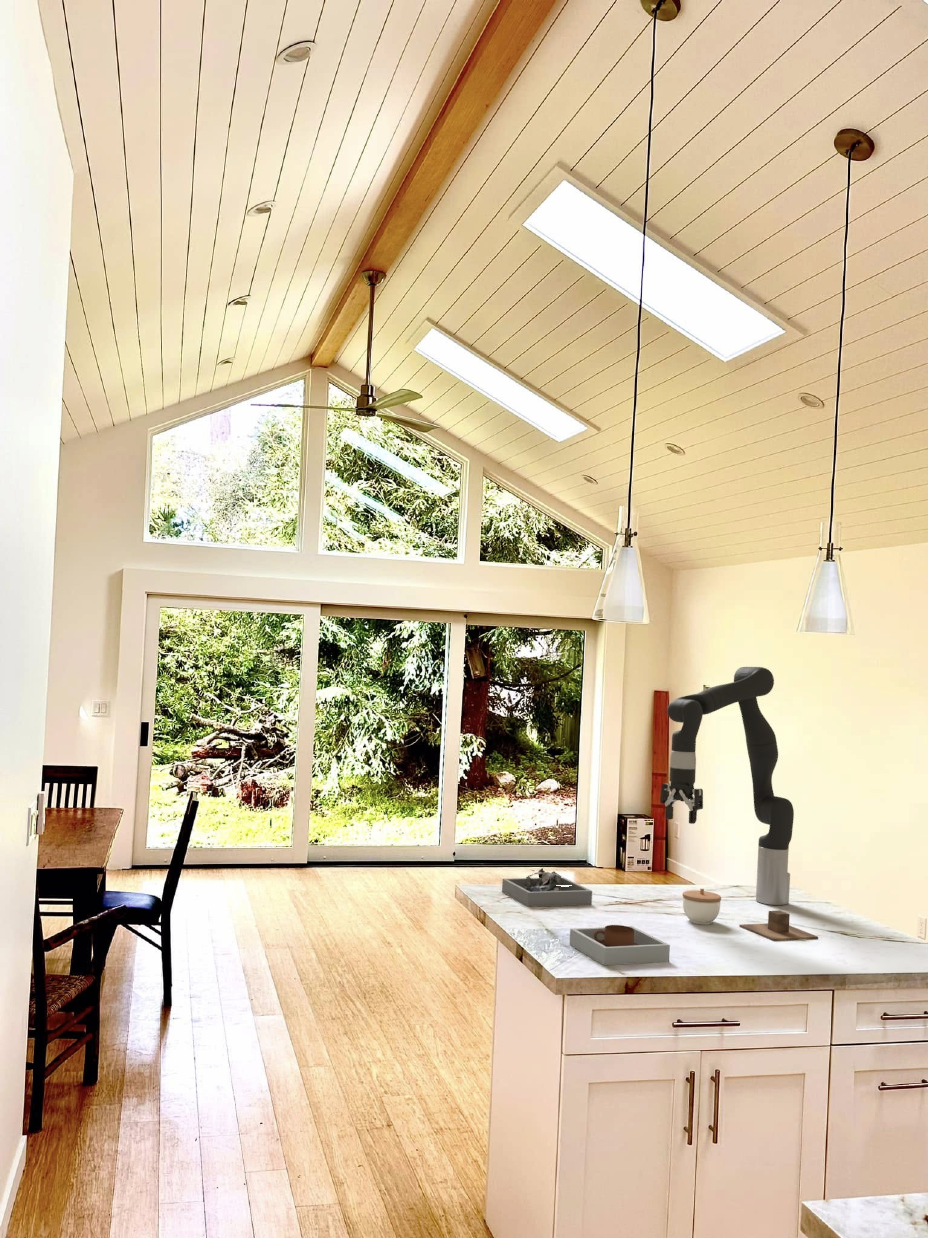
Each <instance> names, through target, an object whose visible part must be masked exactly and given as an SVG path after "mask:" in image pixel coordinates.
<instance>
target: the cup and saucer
mask: <svg viewBox="0 0 928 1238" xmlns="http://www.w3.org/2000/svg"><path fill="white" fill-rule="evenodd" d="M627 926H628V925H621V924H609V925H606V926H604V927H605V931H603V930H598V931H596V932H595V934H594V939H595V940H596V941H597V942H599V943H600V944H602V945H604V946H606V947H615V946H636V945H639V944H636V943H634V931H635V930H634V929H633V928H631V927H627ZM598 933H602V934H604V935H605V936H604V939H603V940H598V939H597V934H598Z"/></svg>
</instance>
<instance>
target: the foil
mask: <svg viewBox="0 0 928 1238" xmlns="http://www.w3.org/2000/svg"><path fill="white" fill-rule="evenodd" d="M531 871H532V872H533V873H532V874H529V875H527V876H526V877H525V878H526V880H527V881H526V883H525V889H526V890H528V891H530V892H542V891H560V889H561V886H556V885H554V886H553V887H552V884H554V883H557V884H559V882H560V878H561V877H563V876H562V875H560V874H559V873H557V872H556V871H552V872H549V871H545V870H544V868H543V867H542V868H540V869H539V870H538V871H537V872H535V870H533V869H531ZM534 875H538V878H539V879H540V878H541V880H540V882H539V883H538V884H537V883H536V882H535V881H534V880H532V879H531V878H532V876H534ZM542 889H544V890H542Z"/></svg>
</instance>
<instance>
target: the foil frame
mask: <svg viewBox="0 0 928 1238" xmlns="http://www.w3.org/2000/svg"><path fill="white" fill-rule="evenodd" d="M530 878H531V879H532V880H534V881H535V882H536V883H537V884H538V883H539V882H540V880H541V878H540V879H539V877H530ZM526 881H527V880H526V877H520V878H502V884H501V887H502V888H501V892H502V893H503V894H505V895H506V896H509V897H510V898H513V899H514V901H515V900H516V901H517V902H519V903H521V904H522V905H525V906H526V907H552V906H553V907H554V906H555V907H556V906H557V907H558V906H581V905H583V906H585V905H586V906H587V905H589V906H590V905H592V904H593V890H591V889H589V888H587V887H585V886H582V885H581V884H578V883H576V882H574V881H572V880H571V879H568V878H566V877H564V876H562V877H561V878H560V882H559V884H557V883H554V884H552V887H553V886H554V885H572V886H569V887H561V889H560V891H542V892H530V891H528V890H526V889H525V883H526ZM542 890H544V889H542Z"/></svg>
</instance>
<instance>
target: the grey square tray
mask: <svg viewBox="0 0 928 1238" xmlns="http://www.w3.org/2000/svg"><path fill="white" fill-rule="evenodd" d="M626 926H627V927H631V928H633V929H634V930H635V931H634V943H636V944H639V945H636V946H615V947H606V946H604V945H602V944H600V943H599V942H597V941H596V940H595V939H594V934H595V932H596V931H598V930H603V931H605V926H604V927H603V926H601V927H600V926H599V927H598V926H597V927H579V928H577V927H575V928H570V931H569V945H570V946H571V947H572V948H574V949H576V950H578V951H580V952H581V953H583V954H585V955H586V956H588V957H590V958H591V959H592V960H594V961H597V962H598V963H599V964H601V965H603V966H612V965H613V966H615V965H632V964H648V963H649V964H651V963H664V962H665V963H666V962H667V963H668V962H670V950H671V948H670V947H671V944H670V943H667V942H665V941H663V940H661V939H659V938H657V937H654V935H651V934H649V933H647V932H645V931H643V930H641V929H639V928H637V927H635V926H633V925H626ZM604 936H605V935H604V934H602V933H598V934H597V939H598V940H603V939H604Z"/></svg>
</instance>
